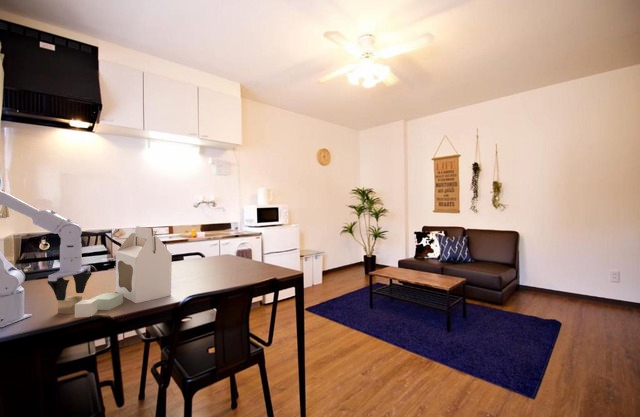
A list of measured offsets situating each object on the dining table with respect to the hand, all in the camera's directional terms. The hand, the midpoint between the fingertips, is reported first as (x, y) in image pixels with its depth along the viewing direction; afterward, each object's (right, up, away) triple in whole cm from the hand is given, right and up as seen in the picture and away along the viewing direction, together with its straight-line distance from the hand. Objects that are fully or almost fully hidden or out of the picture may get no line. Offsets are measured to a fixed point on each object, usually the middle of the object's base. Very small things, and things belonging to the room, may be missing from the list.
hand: (70, 296), depth 99 cm
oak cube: (0, -5, 0) cm, 5 cm away
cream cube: (+8, -5, -3) cm, 10 cm away
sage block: (+9, -5, +5) cm, 12 cm away
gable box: (+13, -5, +20) cm, 24 cm away
